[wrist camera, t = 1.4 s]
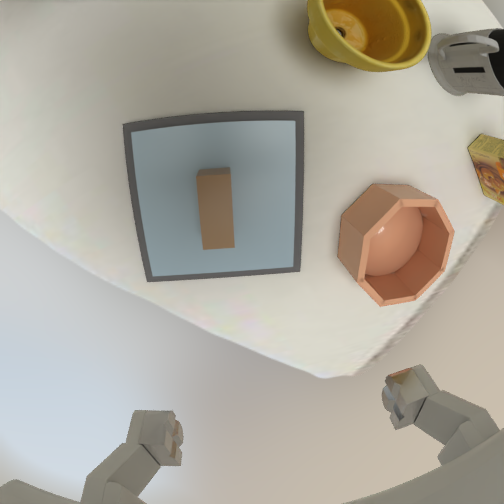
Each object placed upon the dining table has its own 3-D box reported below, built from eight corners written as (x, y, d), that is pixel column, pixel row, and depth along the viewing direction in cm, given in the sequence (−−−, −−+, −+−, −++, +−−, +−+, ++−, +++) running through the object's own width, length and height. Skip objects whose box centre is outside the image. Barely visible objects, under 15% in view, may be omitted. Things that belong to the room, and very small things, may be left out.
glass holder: (475, 99, 26) (561, 114, 13) (397, 87, 26) (497, 88, 12) (468, 41, 22) (550, 38, 9) (386, 19, 22) (475, -13, 9)
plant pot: (282, 67, 25) (310, 45, 16) (293, -14, 20) (321, -56, 11) (375, 90, 26) (429, 87, 17) (381, 13, 22) (432, -10, 13)
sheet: (132, 132, 26) (119, 134, 22) (294, 120, 27) (305, 121, 23) (153, 274, 33) (146, 293, 29) (292, 264, 34) (300, 283, 30)
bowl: (343, 183, 30) (367, 198, 25) (430, 186, 31) (460, 200, 26) (334, 282, 36) (351, 311, 31) (414, 273, 37) (436, 296, 32)
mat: (123, 124, 25) (122, 124, 25) (302, 111, 27) (303, 111, 26) (147, 280, 33) (147, 282, 33) (299, 269, 35) (300, 271, 34)
